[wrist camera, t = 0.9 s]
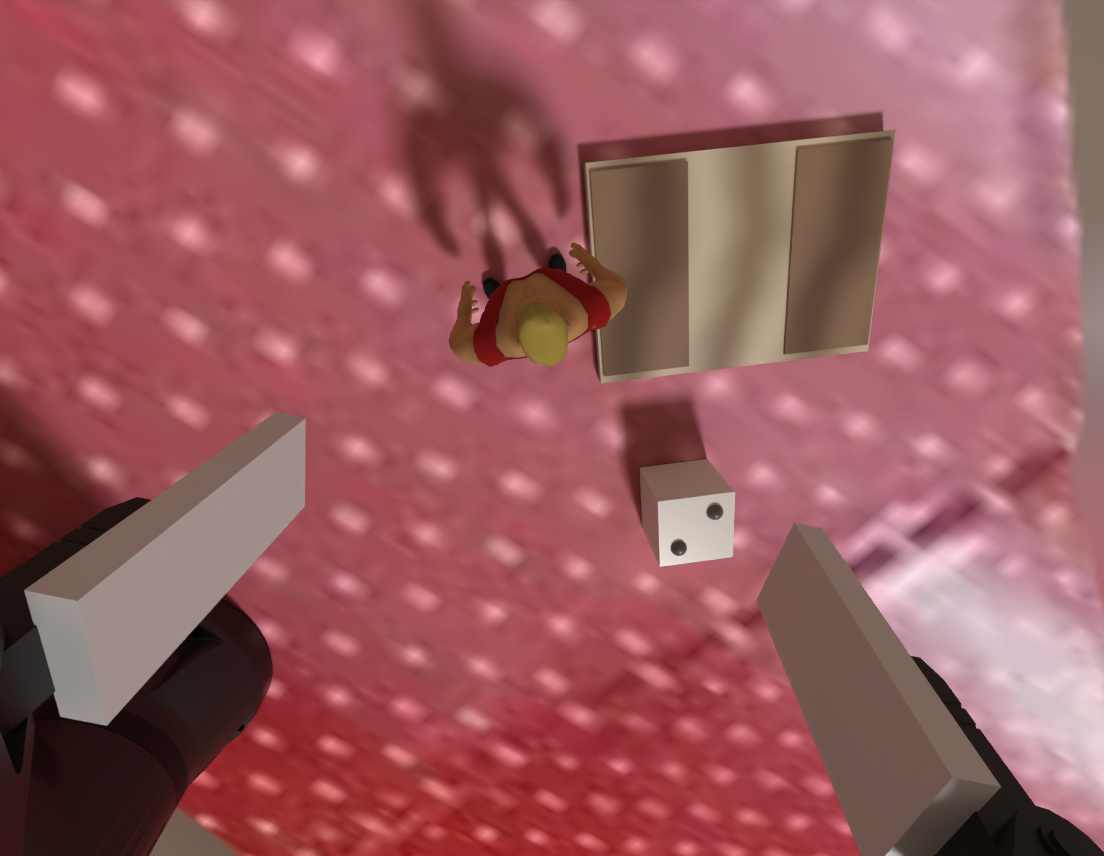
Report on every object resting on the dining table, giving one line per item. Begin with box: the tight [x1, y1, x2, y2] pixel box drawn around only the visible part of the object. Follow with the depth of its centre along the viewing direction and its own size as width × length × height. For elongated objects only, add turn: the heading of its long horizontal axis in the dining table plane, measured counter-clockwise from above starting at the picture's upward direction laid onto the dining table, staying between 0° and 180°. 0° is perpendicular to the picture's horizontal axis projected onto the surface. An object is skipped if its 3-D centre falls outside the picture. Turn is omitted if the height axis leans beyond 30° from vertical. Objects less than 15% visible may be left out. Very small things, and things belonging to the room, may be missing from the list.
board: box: [583, 130, 895, 383], centre depth 33 cm, size 18×13×1 cm
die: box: [640, 459, 735, 567], centre depth 36 cm, size 5×5×6 cm
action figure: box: [449, 243, 627, 367], centre depth 26 cm, size 10×4×15 cm, turn 109°
